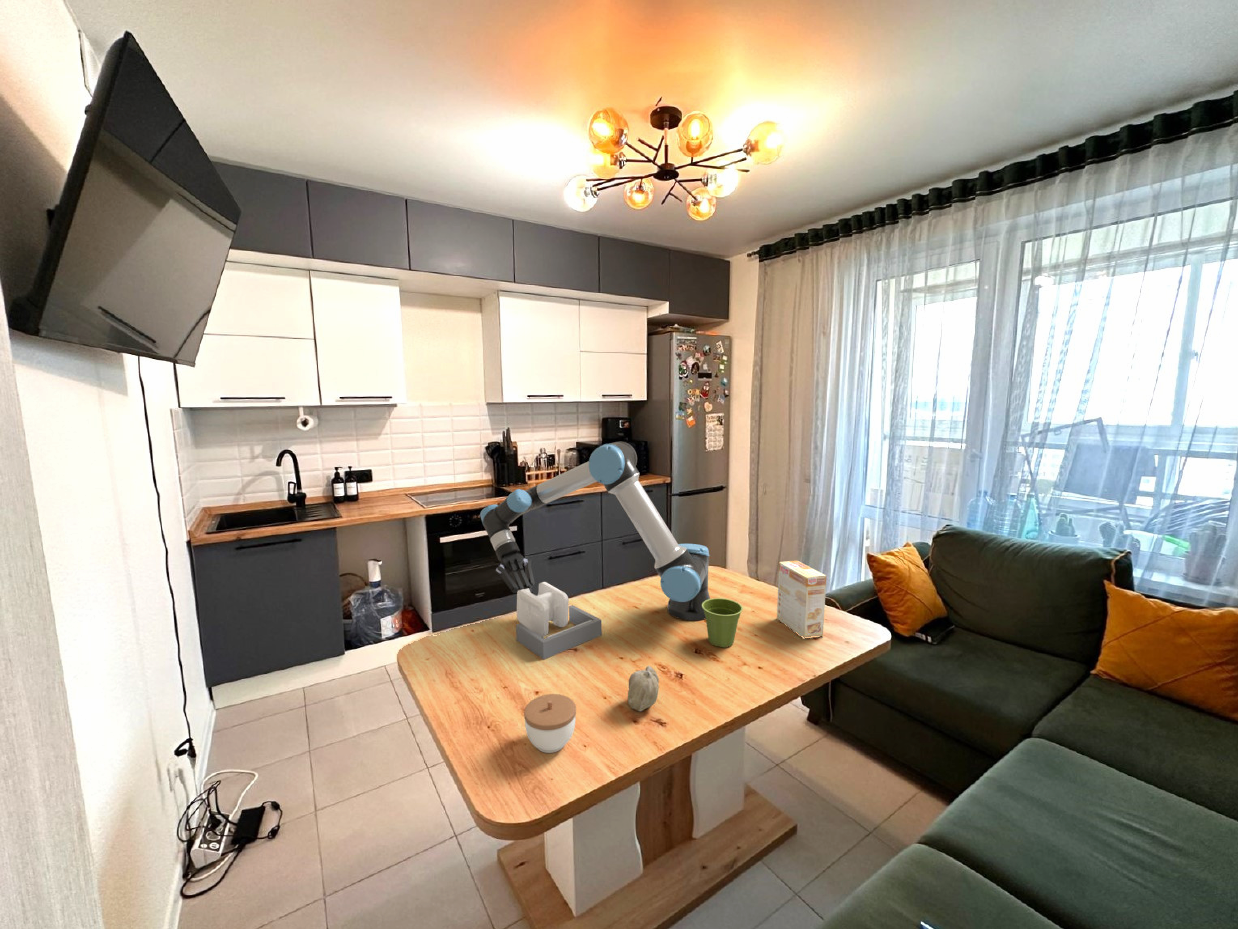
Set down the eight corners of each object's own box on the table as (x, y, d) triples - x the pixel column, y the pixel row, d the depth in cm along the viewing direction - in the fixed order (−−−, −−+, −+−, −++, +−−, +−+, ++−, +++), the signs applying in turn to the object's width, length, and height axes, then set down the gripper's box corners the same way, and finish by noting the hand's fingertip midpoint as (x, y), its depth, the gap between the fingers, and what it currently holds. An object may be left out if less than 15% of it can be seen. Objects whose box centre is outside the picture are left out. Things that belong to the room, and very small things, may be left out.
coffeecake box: (823, 637, 149) (827, 575, 147) (803, 640, 148) (806, 577, 145) (794, 616, 164) (797, 559, 161) (775, 618, 162) (778, 561, 159)
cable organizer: (569, 630, 154) (571, 595, 152) (541, 641, 147) (542, 605, 145) (541, 612, 164) (542, 579, 162) (514, 622, 157) (515, 588, 155)
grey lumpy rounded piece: (645, 703, 121) (652, 661, 123) (666, 716, 114) (673, 671, 115) (613, 703, 116) (620, 659, 118) (633, 717, 109) (640, 670, 111)
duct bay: (601, 635, 151) (601, 619, 150) (543, 659, 137) (543, 642, 136) (572, 619, 161) (572, 605, 161) (516, 640, 147) (516, 624, 147)
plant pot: (693, 642, 146) (693, 606, 145) (715, 629, 155) (716, 594, 153) (727, 656, 138) (728, 618, 137) (749, 642, 147) (750, 605, 145)
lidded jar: (539, 722, 110) (538, 683, 109) (583, 731, 107) (583, 691, 106) (515, 755, 100) (514, 712, 99) (564, 766, 97) (563, 722, 96)
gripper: (518, 548, 174) (545, 608, 164) (484, 556, 166) (511, 619, 156) (526, 537, 170) (554, 597, 160) (491, 544, 161) (519, 609, 151)
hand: (533, 608), depth 158 cm, fingers closed
